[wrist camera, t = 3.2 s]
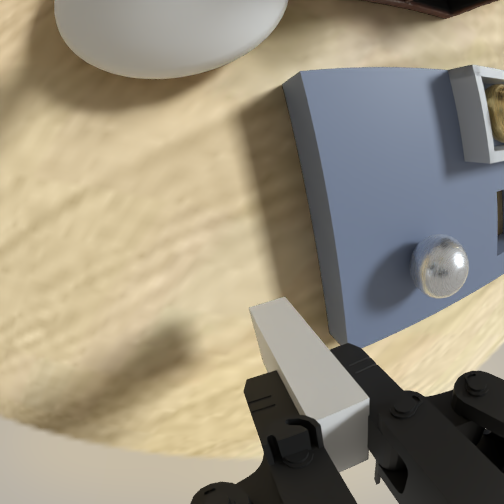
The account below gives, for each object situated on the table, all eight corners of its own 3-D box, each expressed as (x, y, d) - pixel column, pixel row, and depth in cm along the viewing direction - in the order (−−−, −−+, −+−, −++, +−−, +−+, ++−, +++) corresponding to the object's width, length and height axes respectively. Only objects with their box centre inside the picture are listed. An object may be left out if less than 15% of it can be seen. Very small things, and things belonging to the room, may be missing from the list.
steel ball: (399, 294, 16) (437, 318, 13) (395, 237, 15) (438, 253, 12) (440, 275, 17) (478, 294, 14) (438, 222, 16) (481, 234, 13)
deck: (329, 332, 19) (366, 373, 14) (282, 84, 14) (319, 58, 10) (526, 238, 22) (562, 250, 18) (513, 85, 18) (552, 82, 14)
